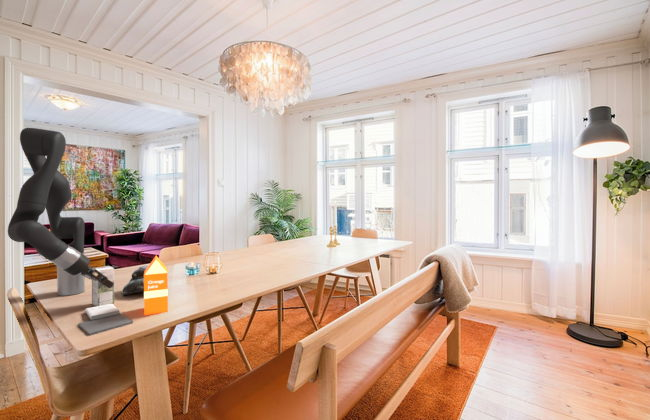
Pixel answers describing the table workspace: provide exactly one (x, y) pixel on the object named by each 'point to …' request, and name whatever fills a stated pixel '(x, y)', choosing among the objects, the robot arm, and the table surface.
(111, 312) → the external hard drive
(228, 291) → the table surface
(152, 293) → the orange juice
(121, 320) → the charcoal mat
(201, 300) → the table surface
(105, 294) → the syrup box
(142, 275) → the lucky cat figurine
